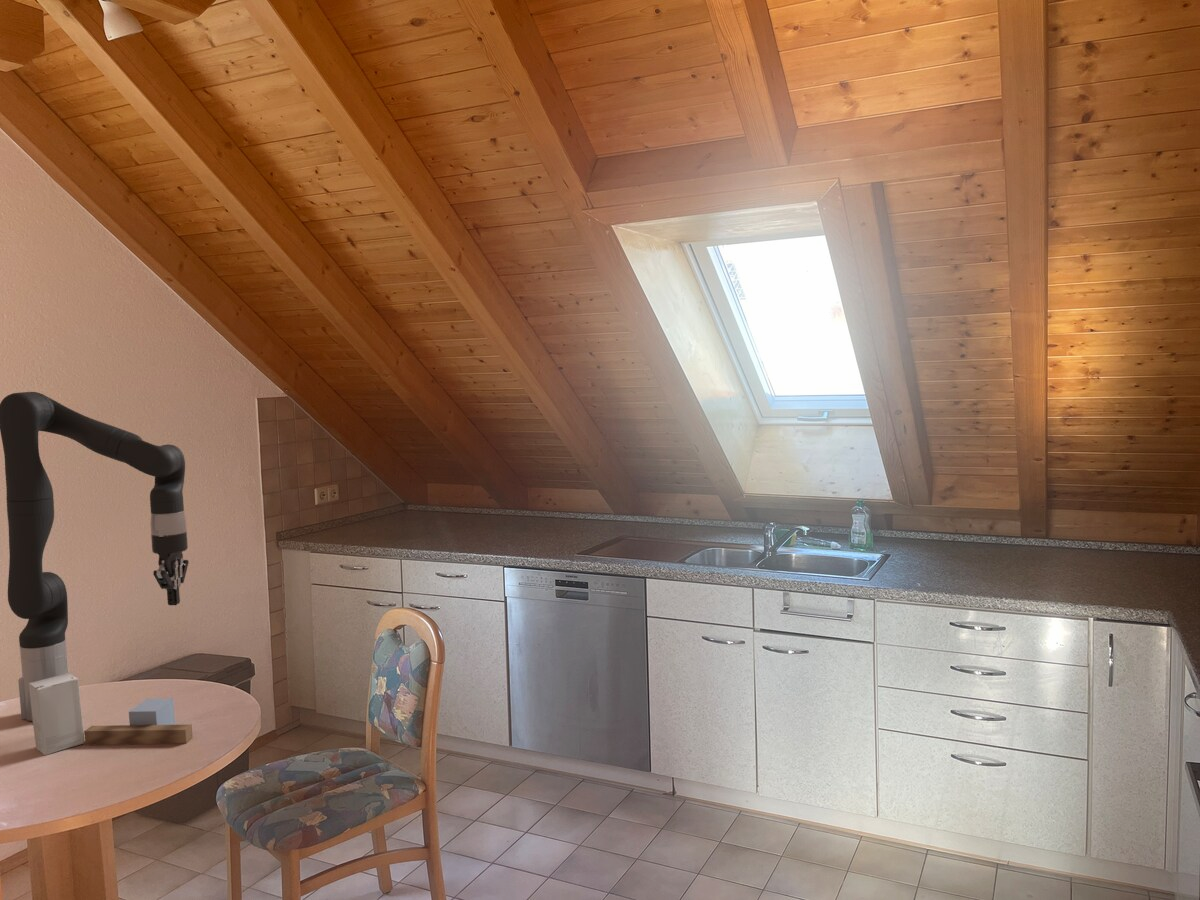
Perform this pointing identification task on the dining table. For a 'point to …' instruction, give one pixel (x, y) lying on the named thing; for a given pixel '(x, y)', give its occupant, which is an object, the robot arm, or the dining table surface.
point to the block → (153, 712)
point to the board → (138, 734)
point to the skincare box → (56, 713)
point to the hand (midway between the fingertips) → (173, 604)
